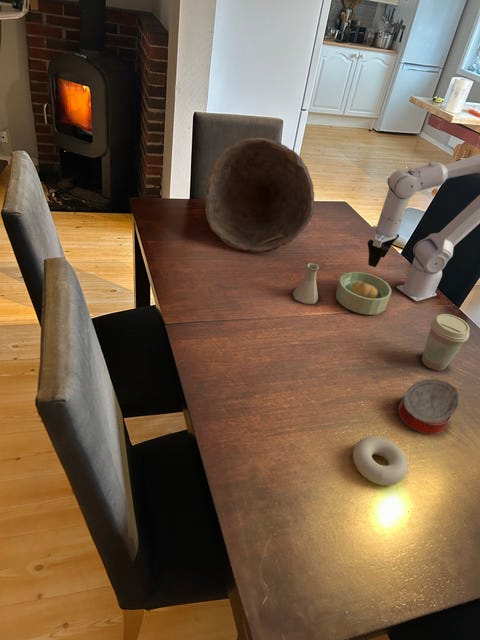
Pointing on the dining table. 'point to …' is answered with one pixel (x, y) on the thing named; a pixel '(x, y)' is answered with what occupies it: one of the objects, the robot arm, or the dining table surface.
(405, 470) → the donut
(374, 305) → the celadon bowl
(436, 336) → the coffee cup
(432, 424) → the canned food
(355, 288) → the potato
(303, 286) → the flask
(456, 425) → the dining table surface
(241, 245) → the bowl
